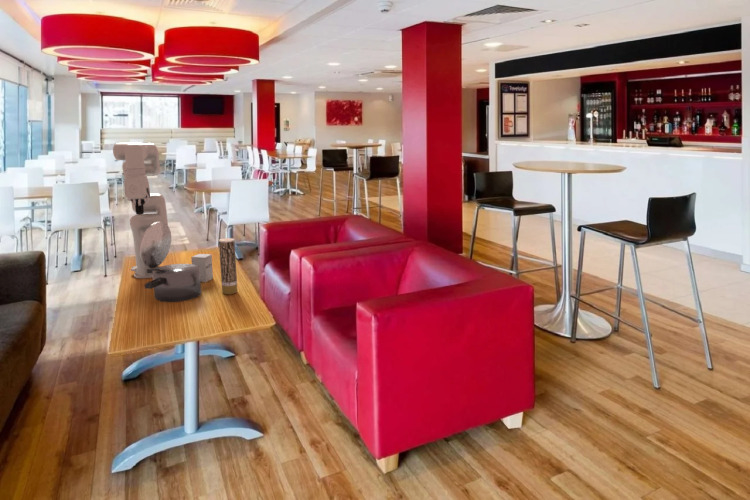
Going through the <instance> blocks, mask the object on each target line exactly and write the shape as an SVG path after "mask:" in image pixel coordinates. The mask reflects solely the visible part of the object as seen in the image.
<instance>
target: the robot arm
mask: <svg viewBox="0 0 750 500" xmlns="http://www.w3.org/2000/svg"><path fill="white" fill-rule="evenodd" d="M112 153H113V154H112V155H113V156H114V159H115V160H117V161H124V162H123V163H122V165H121V167H122V168H121V169H122V172H123V176H124V197H125V198H126V199H127V201H129V202H130V203H131V209H132V211H133V212H134V213H135V214H134V215H132V216H131V217H130V219H129V226H130V230H131V234H132V239H133V247H134V255H135V256H134V257H135V258H134V259H135V266H131V268H130V271H131V272H134V273H133V277H134V278H135V279H140V280H141V279H153V275H152V274H150V273H147V269H149V267H146V266H144V265H143V264H142V263H141V261H140V257H139V245H140V241H141V238H142V236H143V234H144V232H145V230H146V229H147V228H148V227H149V226H150V225H151V224H153V223H155V222H162V223H165V224H167V225H168V226H169V223H168V213H167V212H168V211H167V205H166V200H165V197H164V196H163V194H161V193H151V189H150V183H149V178H148V177H155V176H158V175H159V174H160V172H161V168H160V167H161V165H160V163H161V162H160V153H159V150H158V147H157V146H156V144H154V143H153V142H152V143H151V142H148V143H146V142H145V143H142V142H117V143H114V145H113V147H112Z"/></svg>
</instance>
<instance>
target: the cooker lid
mask: <svg viewBox="0 0 750 500" xmlns="http://www.w3.org/2000/svg"><path fill="white" fill-rule="evenodd" d="M171 232H172V231H171V229H170V226H169V224H168V225H167V224H165V223H162V222H155V223H153V224H151V225H150V226H149V227H148V228H147V229H146V230H145V232H144V234H143V236H142V238H141V241H140V245H139V257H140V261H141V263H142V264H143V265H144V266H146V267H149V268H155V267H157V266H160V265H162V263H163V262H164V261H165V259H166V258H167V257H168V255H169V252H170V249H171V245H172V233H171Z"/></svg>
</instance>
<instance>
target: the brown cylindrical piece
mask: <svg viewBox="0 0 750 500" xmlns="http://www.w3.org/2000/svg"><path fill="white" fill-rule="evenodd" d="M235 244H236V243H235V238H232V237H225V238H220V239H218V248H219V251H218V252H219V262H220V279H221V280H220V281H221V292H222V294H224V295H234V294H237V293H238V277H237V263H236V262H237V261H236V247H235V246H236V245H235Z"/></svg>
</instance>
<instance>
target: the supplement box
mask: <svg viewBox="0 0 750 500" xmlns="http://www.w3.org/2000/svg"><path fill="white" fill-rule="evenodd" d="M212 257H213V256H212V254H211V253H210V254H209V253H208V254H207V253H197V254H195V255H193V256H192V257H191V264H193V265H197V266H199V269H200V282H201V283H207V282H209V281H211V280H212V279H214V274H213V273H214V271H213V259H212Z"/></svg>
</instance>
